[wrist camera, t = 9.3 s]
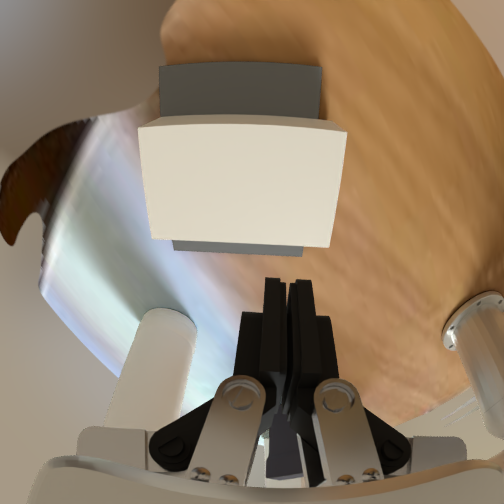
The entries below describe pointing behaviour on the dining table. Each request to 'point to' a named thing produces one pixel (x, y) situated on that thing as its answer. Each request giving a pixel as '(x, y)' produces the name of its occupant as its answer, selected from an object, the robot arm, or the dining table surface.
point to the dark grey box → (283, 450)
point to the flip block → (242, 178)
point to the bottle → (154, 372)
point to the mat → (240, 111)
